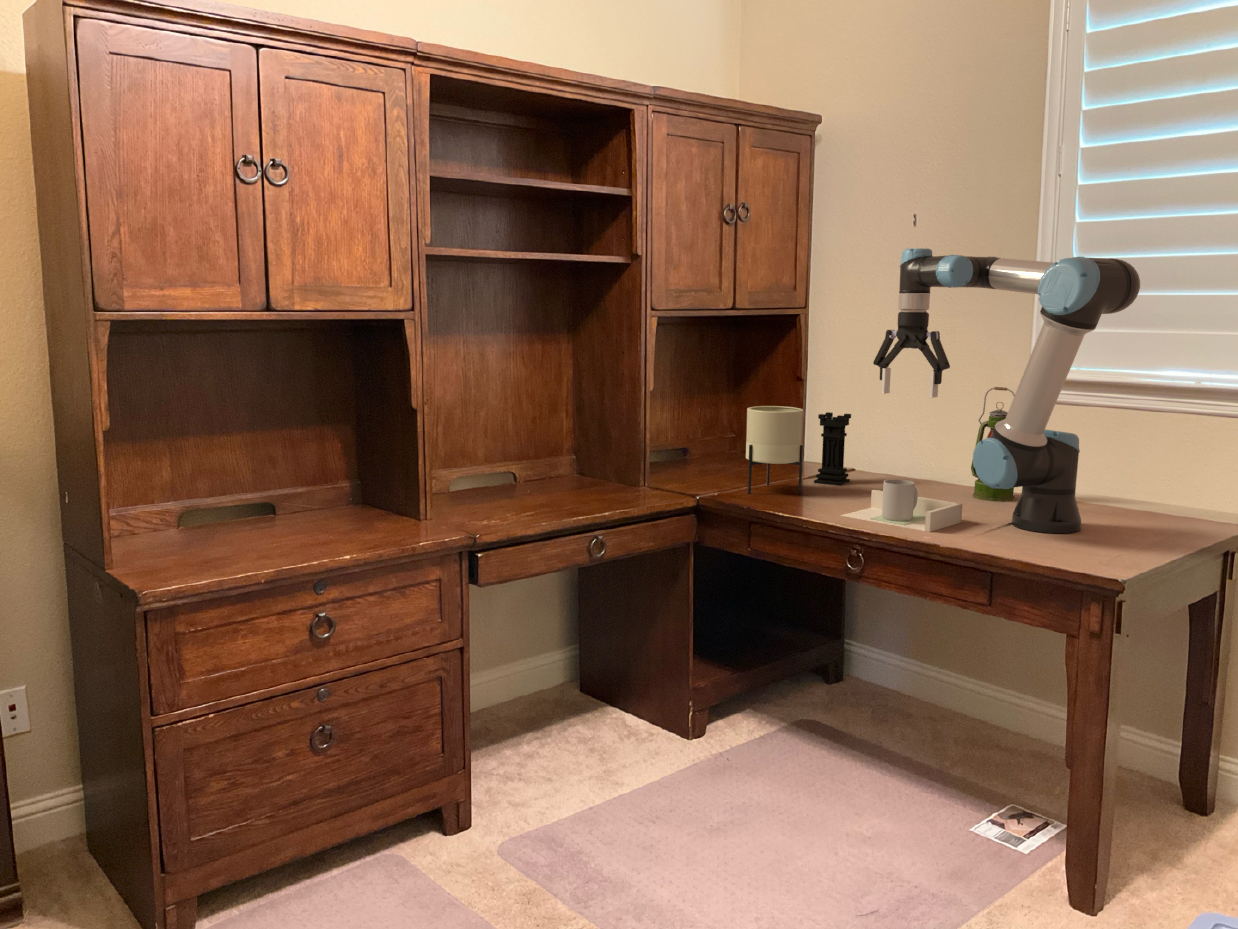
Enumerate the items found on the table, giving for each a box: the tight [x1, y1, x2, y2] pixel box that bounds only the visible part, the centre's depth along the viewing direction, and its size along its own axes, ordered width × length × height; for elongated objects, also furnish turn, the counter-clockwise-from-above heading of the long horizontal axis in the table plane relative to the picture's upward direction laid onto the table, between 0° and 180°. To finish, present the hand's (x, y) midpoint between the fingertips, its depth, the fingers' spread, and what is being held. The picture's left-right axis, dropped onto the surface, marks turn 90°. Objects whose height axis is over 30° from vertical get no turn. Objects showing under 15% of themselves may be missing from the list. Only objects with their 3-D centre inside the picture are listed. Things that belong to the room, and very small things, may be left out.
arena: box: [840, 489, 963, 533], centre depth 247 cm, size 24×15×5 cm, turn 44°
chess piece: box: [813, 412, 852, 487], centre depth 297 cm, size 8×8×20 cm
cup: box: [882, 478, 919, 521], centre depth 246 cm, size 7×10×9 cm
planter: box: [745, 405, 804, 495], centre depth 282 cm, size 15×16×23 cm
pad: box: [870, 514, 926, 525], centre depth 247 cm, size 9×12×1 cm
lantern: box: [970, 386, 1015, 503], centre depth 275 cm, size 14×11×30 cm
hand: (909, 395), depth 261 cm, fingers open, 13 cm apart
